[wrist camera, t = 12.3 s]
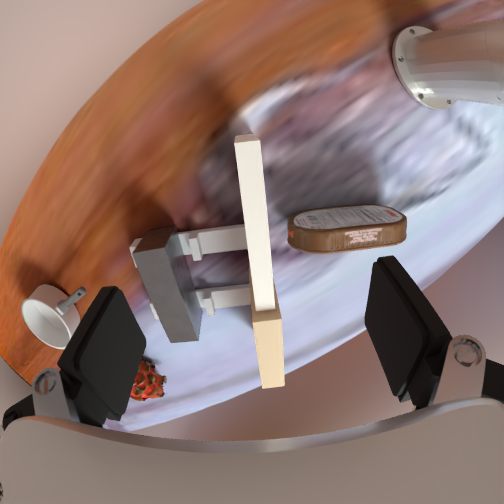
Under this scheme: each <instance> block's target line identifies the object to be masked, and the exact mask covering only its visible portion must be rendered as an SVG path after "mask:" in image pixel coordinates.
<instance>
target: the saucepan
mask: <svg viewBox="0 0 504 504" xmlns="http://www.w3.org/2000/svg"><path fill="white" fill-rule="evenodd" d="M85 294H86V290H85V288H84V287H82V286H81V287H80V288H79V289H77V290H76V291H75V292H74V293H73V294H72V295H71V296H69V297H68V296H67V295H66V294H65V293H63V292H62V291H61V290H59V289H58V288H56V287H54V286H51V285H47V284H44V285H40V286H38V287H37V288H36V289H35V291H34V292H33V293H32V294H31V295H30V297H29V298H27V299H25V300H24V301H23V302H22V304H21V313H22V316H23V319H24V321H25V323H26V324H27V326H28V327H29V329H30V330H31V331H32V332H33V333H34V335H35V336H37V337H38V338H39V339H40V340H41V341H43V342H44V343H46V344H47V345H49V346H51V347H54V348H57V349H65V348H66V346H67V344H68V342H69V341H70V339H71V337H72V335H73V333H74V332H75V330H76V328H77V327H78V325H79V323H80V316H79V313H78V310H77V308H76V307H75V305H74V303H75V302H76V301H78V300H79V299H80V298H81V297H82V296H83V295H85Z"/></svg>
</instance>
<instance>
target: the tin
mask: <svg viewBox="0 0 504 504" xmlns="http://www.w3.org/2000/svg"><path fill="white" fill-rule="evenodd" d="M287 227H288V239H287V240H288V243H289V245H290V246H291V247H293V248H294V249H297V250H299V251H302V252H306V253H313V254H332V253H340V252H348V251H356V250H363V249H371V248H379V247H387V246H394V245H397V244H400V243H402V242H403V241H404V240H405V239H406V228H407V218H406V216H405V215H404V214H402V213H400V212H398V211H396V210H395V209H393V208H391V207H386V206H380V205H356V206H342V207H331V208H320V209H312V210H306V211H302V212H299V213H296V214H294V215H292V216H291V217H290V218H289V220H288V226H287Z"/></svg>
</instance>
